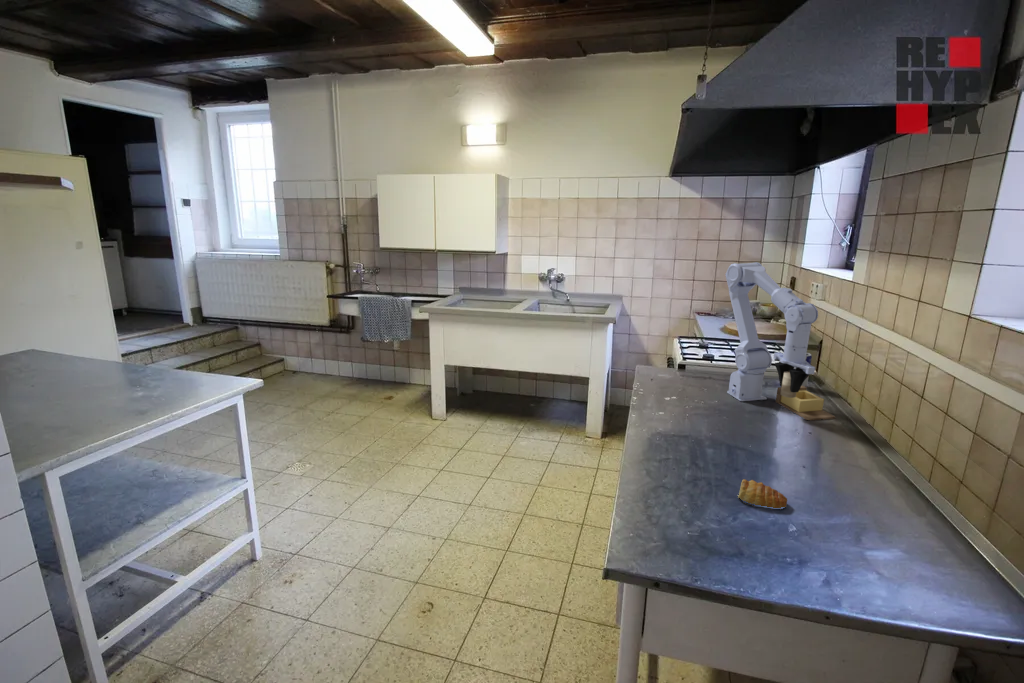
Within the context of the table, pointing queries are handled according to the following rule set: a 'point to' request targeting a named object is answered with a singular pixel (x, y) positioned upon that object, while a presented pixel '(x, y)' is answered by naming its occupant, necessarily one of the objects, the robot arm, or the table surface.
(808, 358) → the energy drink
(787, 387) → the birch dowel
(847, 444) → the table surface
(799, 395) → the socket block
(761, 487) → the pastry
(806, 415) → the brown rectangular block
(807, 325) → the robot arm
